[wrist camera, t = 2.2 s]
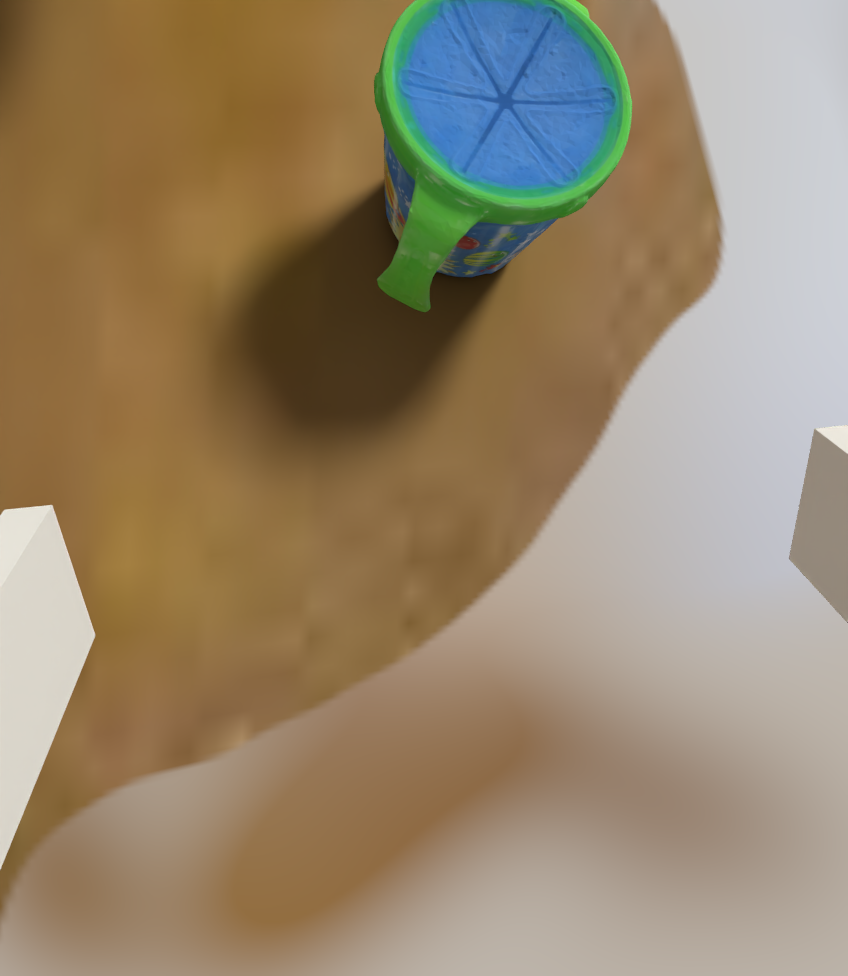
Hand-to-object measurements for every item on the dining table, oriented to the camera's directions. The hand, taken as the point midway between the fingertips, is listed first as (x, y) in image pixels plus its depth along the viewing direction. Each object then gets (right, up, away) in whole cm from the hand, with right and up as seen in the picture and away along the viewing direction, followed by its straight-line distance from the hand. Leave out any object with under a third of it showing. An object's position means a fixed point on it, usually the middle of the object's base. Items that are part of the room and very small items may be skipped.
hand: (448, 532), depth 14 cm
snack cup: (+1, +15, +28) cm, 32 cm away
